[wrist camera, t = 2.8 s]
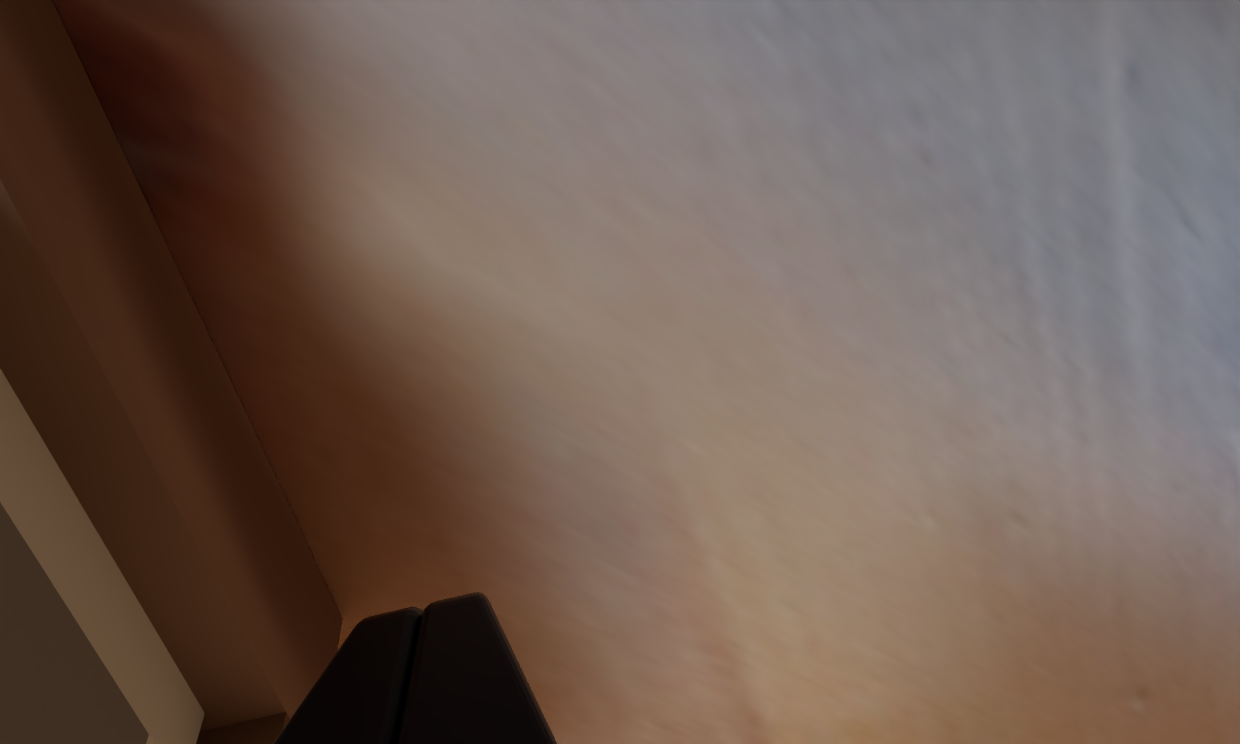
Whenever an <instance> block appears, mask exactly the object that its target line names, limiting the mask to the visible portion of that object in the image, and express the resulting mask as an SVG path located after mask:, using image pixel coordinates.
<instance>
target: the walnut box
mask: <svg viewBox="0 0 1240 744" xmlns="http://www.w3.org/2000/svg"><path fill="white" fill-rule="evenodd" d="M0 369H1V370H2V372H3V374H4V375H5V377H6V379H7V381H8V382H9V384H10V386H11V387H12V389H13V391H14V392H15V394H16V396H17V397H18V399H19V401H20V402H21V404H22V406H23V408H24V409H25V411H26V413H27V414H28V416H29V418H30V419H31V421H32V423H33V424H34V426H35V428H36V429H37V431H38V433H39V434H40V436H41V438H42V440H43V441H44V443H45V445H46V446H47V448H48V450H49V451H50V453H51V455H52V456H53V458H54V460H55V461H56V463H57V465H58V467H59V468H60V470H61V472H62V473H63V475H64V477H65V478H66V480H67V482H68V483H69V485H70V487H71V488H72V490H73V492H74V494H75V495H76V497H77V499H78V500H79V502H80V504H81V505H82V507H83V509H84V510H85V512H86V514H87V515H88V517H89V519H90V521H91V522H92V524H93V526H94V527H95V529H96V531H97V532H98V534H99V536H100V537H101V539H102V541H103V542H104V544H105V546H106V547H107V549H108V551H109V553H110V554H111V556H112V558H113V559H114V561H115V563H116V564H117V566H118V568H119V569H120V571H121V573H122V574H123V576H124V578H125V580H126V581H127V583H128V585H129V586H130V588H131V590H132V591H133V593H134V595H135V596H136V598H137V600H138V601H139V603H140V605H141V607H142V608H143V610H144V612H145V613H146V615H147V617H148V618H149V620H150V622H151V623H152V625H153V627H154V628H155V630H156V632H157V634H158V635H159V637H160V639H161V640H162V642H163V644H164V645H165V647H166V649H167V650H168V652H169V654H170V655H171V657H172V659H173V660H174V662H175V664H176V666H177V667H178V669H179V671H180V672H181V674H182V676H183V677H184V679H185V681H186V682H187V684H188V686H189V687H190V689H191V691H192V693H193V694H194V696H195V698H196V699H197V701H198V703H199V704H200V706H201V708H202V709H203V711H204V713H205V714H204V718H203V721H202V725H201V728H200V732H199V735H198V739H197V742H196V744H273V742H274V741H275V740H276V738H277V737H278V735H279V734H280V733H281V731H282V730H283V728H284V727H285V725H286V724H287V723H288V721H289V720H290V718H291V717H292V715H293V714H294V713H295V711H296V710H297V708H298V707H299V706H300V704H301V703H302V701H303V700H304V698H305V697H306V696H307V694H308V693H309V691H310V690H311V688H312V687H313V686H314V684H315V683H316V681H317V680H318V679H319V677H320V676H321V674H322V673H323V671H324V670H325V669H326V667H327V666H328V664H329V663H330V661H331V660H332V659H333V657H334V656H335V654H336V653H337V649H338V643H339V637H340V631H341V625H342V617H341V615H340V613H339V611H338V609H337V606H336V604H335V602H334V600H333V598H332V596H331V594H330V591H329V589H328V587H327V585H326V583H325V581H324V579H323V577H322V574H321V572H320V570H319V568H318V566H317V564H316V562H315V560H314V557H313V555H312V553H311V551H310V549H309V547H308V545H307V542H306V540H305V538H304V536H303V534H302V532H301V530H300V528H299V525H298V523H297V521H296V519H295V517H294V515H293V513H292V511H291V508H290V506H289V504H288V502H287V500H286V498H285V496H284V493H283V491H282V489H281V487H280V485H279V483H278V481H277V479H276V476H275V474H274V472H273V470H272V468H271V466H270V464H269V462H268V459H267V457H266V455H265V453H264V451H263V449H262V447H261V444H260V442H259V440H258V438H257V436H256V434H255V432H254V430H253V427H252V425H251V423H250V421H249V419H248V417H247V415H246V412H245V410H244V408H243V406H242V404H241V402H240V400H239V398H238V395H237V393H236V391H235V389H234V387H233V385H232V383H231V381H230V378H229V376H228V374H227V372H226V370H225V368H224V366H223V363H222V361H221V359H220V357H219V355H218V353H217V351H216V349H215V346H214V344H213V342H212V340H211V338H210V336H209V334H208V332H207V329H206V327H205V325H204V323H203V321H202V319H201V317H200V314H199V312H198V310H197V308H196V306H195V304H194V302H193V300H192V297H191V295H190V293H189V291H188V289H187V287H186V285H185V283H184V280H183V278H182V276H181V274H180V272H179V270H178V268H177V265H176V263H175V261H174V259H173V257H172V255H171V253H170V251H169V248H168V246H167V244H166V242H165V240H164V238H163V236H162V234H161V231H160V229H159V227H158V225H157V223H156V221H155V219H154V216H153V214H152V212H151V210H150V208H149V206H148V204H147V202H146V199H145V197H144V195H143V193H142V191H141V189H140V187H139V185H138V182H137V180H136V178H135V176H134V174H133V172H132V170H131V167H130V165H129V163H128V161H127V159H126V157H125V155H124V153H123V150H122V148H121V146H120V144H119V142H118V140H117V138H116V135H115V133H114V131H113V129H112V127H111V125H110V123H109V121H108V118H107V116H106V114H105V112H104V110H103V108H102V106H101V104H100V101H99V99H98V97H97V95H96V93H95V91H94V89H93V86H92V84H91V82H90V80H89V78H88V76H87V74H86V72H85V69H84V67H83V65H82V63H81V61H80V59H79V57H78V55H77V52H76V50H75V48H74V46H73V44H72V42H71V40H70V37H69V35H68V33H67V31H66V29H65V27H64V25H63V23H62V20H61V18H60V16H59V14H58V12H57V10H56V8H55V6H54V3H53V1H52V0H0Z"/></svg>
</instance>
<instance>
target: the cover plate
mask: <svg viewBox="0 0 1240 744" xmlns="http://www.w3.org/2000/svg"><path fill="white" fill-rule="evenodd" d="M204 714H205V713H204V711H203V709H202V708H201V706H200V704H199V703H198V701H197V699H196V698H195V696H194V694H193V693H192V691H191V689H190V687H189V686H188V684H187V682H186V681H185V679H184V677H183V676H182V674H181V672H180V671H179V669H178V667H177V666H176V664H175V662H174V660H173V659H172V657H171V655H170V654H169V652H168V650H167V649H166V647H165V645H164V644H163V642H162V640H161V639H160V637H159V635H158V634H157V632H156V630H155V628H154V627H153V625H152V623H151V622H150V620H149V618H148V617H147V615H146V613H145V612H144V610H143V608H142V607H141V605H140V603H139V601H138V600H137V598H136V596H135V595H134V593H133V591H132V590H131V588H130V586H129V585H128V583H127V581H126V580H125V578H124V576H123V574H122V573H121V571H120V569H119V568H118V566H117V564H116V563H115V561H114V559H113V558H112V556H111V554H110V553H109V551H108V549H107V547H106V546H105V544H104V542H103V541H102V539H101V537H100V536H99V534H98V532H97V531H96V529H95V527H94V526H93V524H92V522H91V521H90V519H89V517H88V515H87V514H86V512H85V510H84V509H83V507H82V505H81V504H80V502H79V500H78V499H77V497H76V495H75V494H74V492H73V490H72V488H71V487H70V485H69V483H68V482H67V480H66V478H65V477H64V475H63V473H62V472H61V470H60V468H59V467H58V465H57V463H56V461H55V460H54V458H53V456H52V455H51V453H50V451H49V450H48V448H47V446H46V445H45V443H44V441H43V440H42V438H41V436H40V434H39V433H38V431H37V429H36V428H35V426H34V424H33V423H32V421H31V419H30V418H29V416H28V414H27V413H26V411H25V409H24V408H23V406H22V404H21V402H20V401H19V399H18V397H17V396H16V394H15V392H14V391H13V389H12V387H11V386H10V384H9V382H8V381H7V379H6V377H5V375H4V374H3V372H2V370H1V369H0V744H196V742H197V739H198V735H199V732H200V728H201V725H202V721H203V718H204Z"/></svg>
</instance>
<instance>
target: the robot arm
mask: <svg viewBox="0 0 1240 744" xmlns="http://www.w3.org/2000/svg"><path fill="white" fill-rule="evenodd" d="M273 744H557V742H556V740H555V738H554V736H553V734H552V732H551V730H550V728H549V726H548V723H547V721H546V719H545V717H544V715H543V713H542V711H541V709H540V707H539V705H538V702H537V700H536V698H535V696H534V694H533V692H532V690H531V688H530V686H529V684H528V682H527V679H526V677H525V675H524V673H523V671H522V669H521V667H520V665H519V663H518V661H517V658H516V656H515V654H514V652H513V650H512V648H511V646H510V644H509V642H508V640H507V637H506V635H505V633H504V631H503V629H502V627H501V625H500V623H499V621H498V619H497V617H496V614H495V612H494V610H493V608H492V606H491V604H490V602H489V600H488V598H487V597H486V596H485V595H484V594H482V593H479V592H477V593H471V594H466V595H462V596H458V597H453V598H449V599H444V600H440V601H436V602H433V603H430V604H429V605H428V606H427V607H426V608H425V609H424V611H423V610H421V609H419V608H416V607H409V608H405V609H401V610H396V611H392V612H387V613H383V614H379V615H374V616H370V617H368V618H365V619H363V620H362V621H361V622H359V623H358V624H357V625H356V626H355V628H354V629H353V630H352V632H351V633H350V634H349V636H348V637H347V639H346V640H345V642H344V643H343V644H342V646H341V647H340V649H339V650H338V652H337V653H336V654H335V656H334V657H333V659H332V660H331V661H330V663H329V664H328V666H327V667H326V669H325V670H324V671H323V673H322V674H321V676H320V677H319V679H318V680H317V681H316V683H315V684H314V686H313V687H312V688H311V690H310V691H309V693H308V694H307V696H306V697H305V698H304V700H303V701H302V703H301V704H300V706H299V707H298V708H297V710H296V711H295V713H294V714H293V715H292V717H291V718H290V720H289V721H288V723H287V724H286V725H285V727H284V728H283V730H282V731H281V733H280V734H279V735H278V737H277V738H276V740H275V741H274V742H273Z"/></svg>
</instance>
